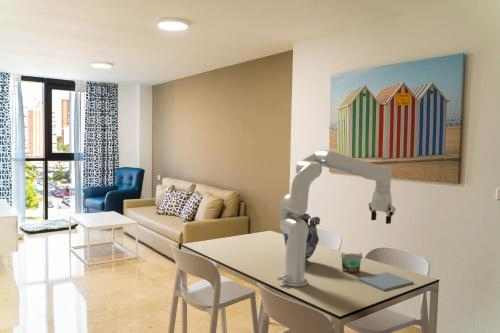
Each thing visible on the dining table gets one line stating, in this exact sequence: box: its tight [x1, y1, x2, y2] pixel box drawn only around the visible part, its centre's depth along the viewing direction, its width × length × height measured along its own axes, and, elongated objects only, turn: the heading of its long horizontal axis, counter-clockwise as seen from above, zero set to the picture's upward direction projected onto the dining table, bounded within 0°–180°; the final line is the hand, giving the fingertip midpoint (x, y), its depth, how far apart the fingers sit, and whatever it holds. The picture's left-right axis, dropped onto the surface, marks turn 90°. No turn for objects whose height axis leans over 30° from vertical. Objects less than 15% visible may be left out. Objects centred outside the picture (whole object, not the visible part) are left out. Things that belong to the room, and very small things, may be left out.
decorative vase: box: [283, 212, 321, 266], centre depth 228 cm, size 21×19×28 cm
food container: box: [340, 251, 363, 275], centre depth 214 cm, size 12×6×10 cm, turn 105°
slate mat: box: [357, 271, 414, 292], centre depth 201 cm, size 22×16×1 cm
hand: (380, 221), depth 211 cm, fingers open, 9 cm apart
